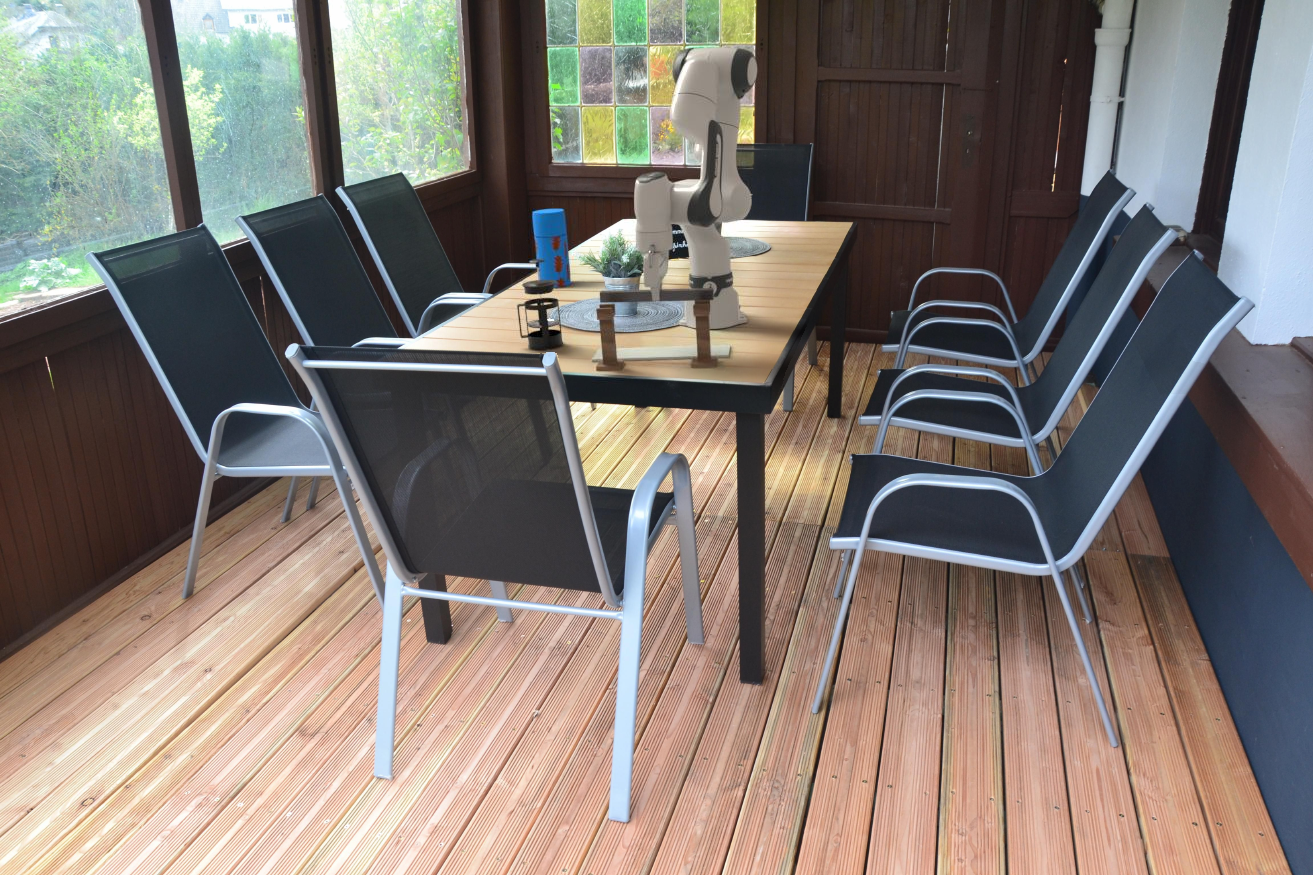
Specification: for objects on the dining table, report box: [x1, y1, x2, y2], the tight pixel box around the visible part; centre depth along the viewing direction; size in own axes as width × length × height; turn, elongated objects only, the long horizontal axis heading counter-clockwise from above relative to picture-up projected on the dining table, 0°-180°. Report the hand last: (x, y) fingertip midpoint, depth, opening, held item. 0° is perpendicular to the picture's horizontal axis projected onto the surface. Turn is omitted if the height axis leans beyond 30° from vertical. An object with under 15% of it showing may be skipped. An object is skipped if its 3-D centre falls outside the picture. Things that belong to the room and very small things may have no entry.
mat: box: [591, 344, 731, 363], centre depth 256 cm, size 10×34×1 cm, turn 83°
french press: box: [516, 258, 564, 351], centre depth 268 cm, size 12×9×23 cm
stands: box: [595, 300, 719, 371], centre depth 244 cm, size 6×29×15 cm, turn 83°
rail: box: [599, 288, 714, 304], centre depth 251 cm, size 2×28×2 cm, turn 83°
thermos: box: [532, 208, 572, 289], centre depth 344 cm, size 11×11×25 cm
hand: (657, 299), depth 251 cm, fingers closed on rail, 2 cm apart
